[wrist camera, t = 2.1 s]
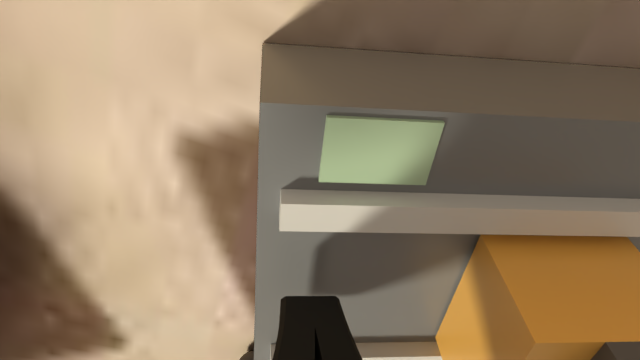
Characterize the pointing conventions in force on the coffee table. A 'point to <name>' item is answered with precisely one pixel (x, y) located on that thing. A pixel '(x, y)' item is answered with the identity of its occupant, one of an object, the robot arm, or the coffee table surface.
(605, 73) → the breaker deck
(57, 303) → the coffee table surface
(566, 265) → the breaker toggle
